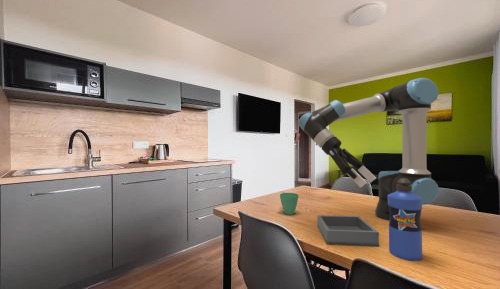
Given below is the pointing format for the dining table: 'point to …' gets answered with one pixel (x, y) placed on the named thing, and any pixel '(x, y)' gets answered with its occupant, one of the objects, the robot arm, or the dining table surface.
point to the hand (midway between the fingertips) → (369, 182)
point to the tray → (347, 231)
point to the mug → (289, 202)
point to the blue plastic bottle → (405, 222)
